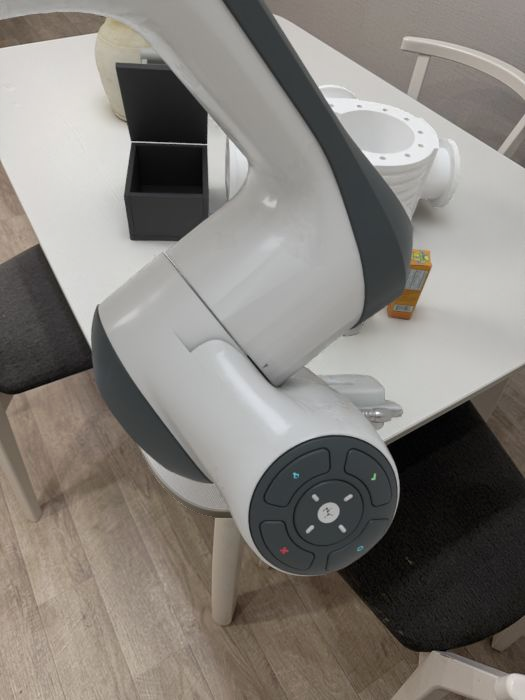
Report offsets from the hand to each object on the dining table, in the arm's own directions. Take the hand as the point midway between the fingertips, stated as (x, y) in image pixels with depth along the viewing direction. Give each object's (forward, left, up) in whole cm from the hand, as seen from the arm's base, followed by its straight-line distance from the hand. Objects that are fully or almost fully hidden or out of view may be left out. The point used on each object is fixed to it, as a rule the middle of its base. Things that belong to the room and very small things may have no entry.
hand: (256, 384), depth 51 cm
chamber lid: (-10, +43, +6) cm, 44 cm away
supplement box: (+22, +18, -9) cm, 30 cm away
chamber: (-10, +39, -9) cm, 41 cm away
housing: (+16, +43, -9) cm, 47 cm away
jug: (-16, +71, -9) cm, 74 cm away
